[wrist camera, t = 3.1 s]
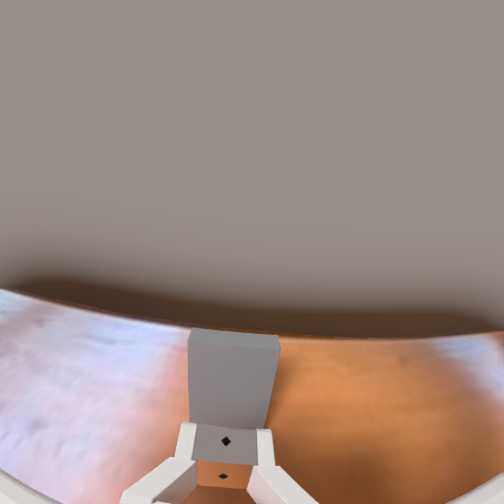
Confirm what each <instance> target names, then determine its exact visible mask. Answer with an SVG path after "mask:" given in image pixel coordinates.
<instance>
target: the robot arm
mask: <svg viewBox="0 0 504 504" xmlns="http://www.w3.org/2000/svg"><path fill="white" fill-rule="evenodd" d="M197 485H200V486H211V487H224V488H235V489H247V492H248V493H249V494H250V496H251V497H252V498H253V500H254V501H255V502H256V504H319V503H318V502H317V501H315V500H314V499H313V498H312V497H311V496H310V495H309V494H308V493H307V492H306V491H305V490H304V489H303V488H302V487H301V486H299V485H298V484H297V483H296V482H295V481H294V480H293V479H292V478H291V477H290V476H289V475H288V474H287V473H286V472H285V471H284V470H283V469H282V468H281V466H276V465H275V456H274V447H273V438H272V431H271V429H255V428H238V427H221V426H213V425H206V424H199V423H192V422H186V421H183V422H182V424H181V428H180V432H179V437H178V442H177V447H176V451H175V456H174V457H169V458H168V459H166V460H165V461H164V462H162V463H161V464H160V465H159V466H157V467H156V468H155V469H153V470H152V471H151V472H149V473H148V474H147V475H145V476H144V477H143V478H141V479H140V480H139V481H137V482H136V483H134V484H133V485H132V486H130V487H129V488H127V489H126V490H125V491H123V494H122V497H121V500H120V504H181V503H182V502H183V501H184V500H185V499H186V497H187V496H188V495H189V494H190V493H191V492H192V491H193V490H194V489H195V488H196V487H197ZM0 504H63V503H61V502H59V501H57V500H54V499H52V498H50V497H48V496H46V495H44V494H43V493H41V492H39V491H37V490H35V489H33V488H31V487H30V486H28V485H26V484H24V483H23V482H21V481H19V480H18V479H16V478H14V477H13V476H11V475H10V474H8V473H7V472H5V471H4V470H2V469H1V468H0ZM445 504H504V471H503V472H501V473H500V474H498V475H497V476H495V477H494V478H492V479H490V480H489V481H487V482H485V483H484V484H482V485H480V486H478V487H477V488H475V489H473V490H471V491H469V492H467V493H466V494H464V495H462V496H460V497H458V498H456V499H454V500H452V501H450V502H447V503H445Z"/></svg>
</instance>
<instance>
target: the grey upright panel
mask: <svg viewBox="0 0 504 504" xmlns="http://www.w3.org/2000/svg"><path fill="white" fill-rule="evenodd" d="M280 350H281V348H280V343H279V338H278V335H264V334H251V333H238V332H227V331H217V330H208V329H199V328H192V329H191V332H190V336H189V339H188V389H189V416H190V422H192V423H199V424H206V425H213V426H221V427H238V428H255V429H264V426H265V422H266V417H267V413H268V408H269V404H270V399H271V394H272V390H273V385H274V380H275V375H276V370H277V365H278V360H279V355H280Z"/></svg>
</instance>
